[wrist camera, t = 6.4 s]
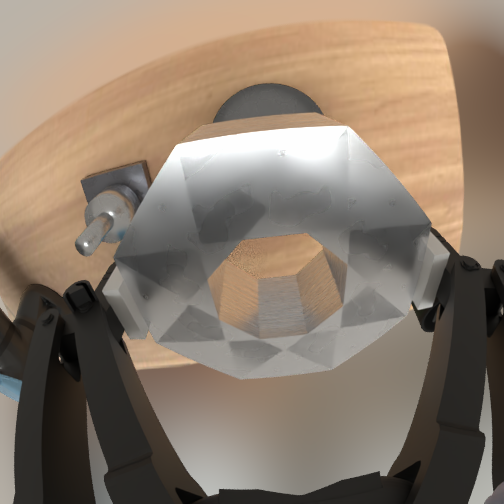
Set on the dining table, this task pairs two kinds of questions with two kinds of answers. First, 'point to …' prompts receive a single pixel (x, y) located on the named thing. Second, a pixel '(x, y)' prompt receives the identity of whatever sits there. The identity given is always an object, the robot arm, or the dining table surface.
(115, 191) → the stand
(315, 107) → the hub
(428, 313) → the cup
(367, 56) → the dining table surface
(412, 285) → the faceted steel ring
